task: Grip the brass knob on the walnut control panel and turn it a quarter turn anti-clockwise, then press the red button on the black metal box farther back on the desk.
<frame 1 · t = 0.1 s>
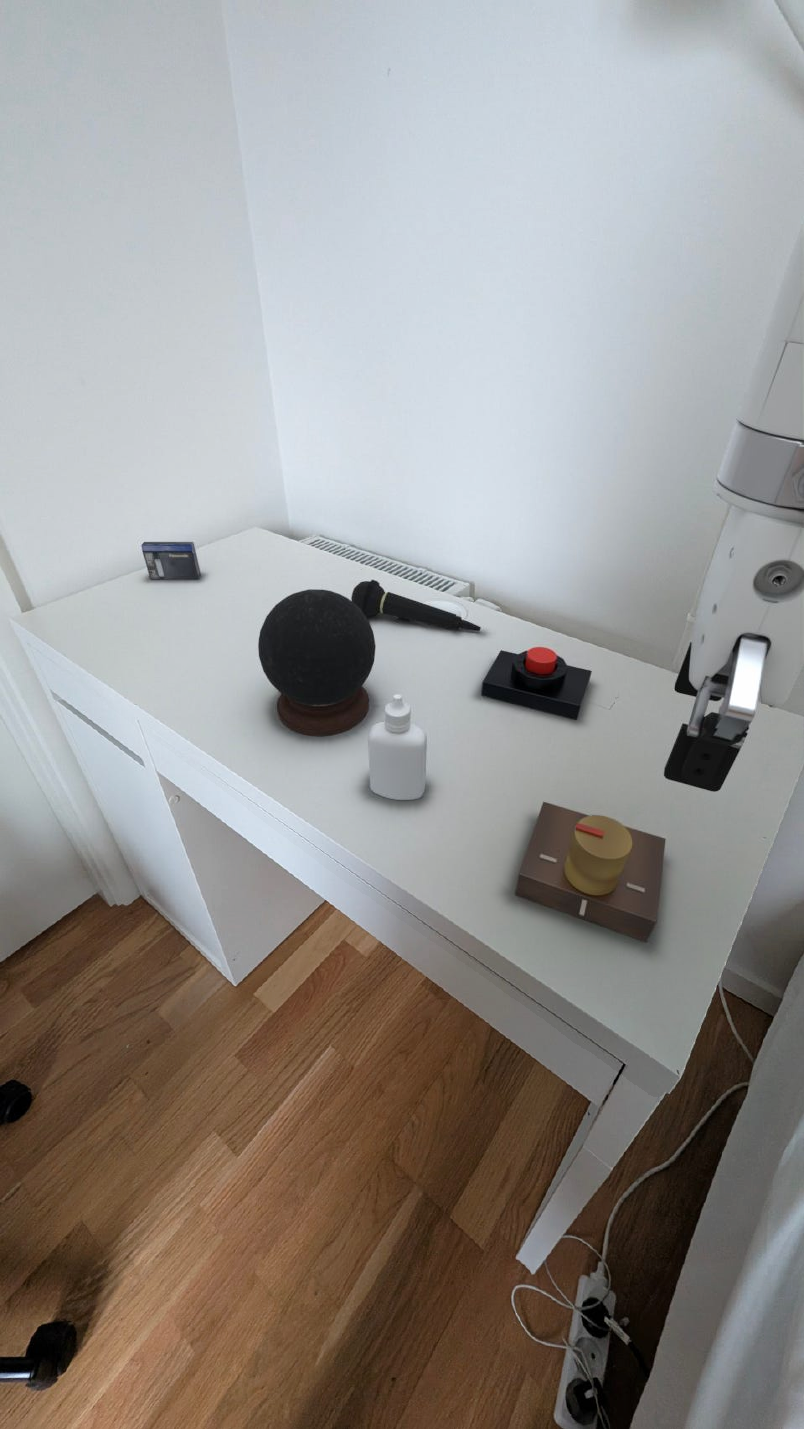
hand: (693, 734, 39), 18 cm above the table, tool pointing down, fingers open, 9 cm apart
knob: (597, 853, 47), point 6 cm above the table, hinge at 0.0°
button: (540, 660, 71), point 4 cm above the table, slide at 0.1 cm
microphone: (411, 625, 87), on the table
panel: (587, 876, 52), on the table
button box: (535, 690, 74), on the table
black ball on stand: (323, 707, 71), on the table
eye dropper bottle: (397, 789, 60), on the table
mini dv tape: (176, 578, 99), on the table
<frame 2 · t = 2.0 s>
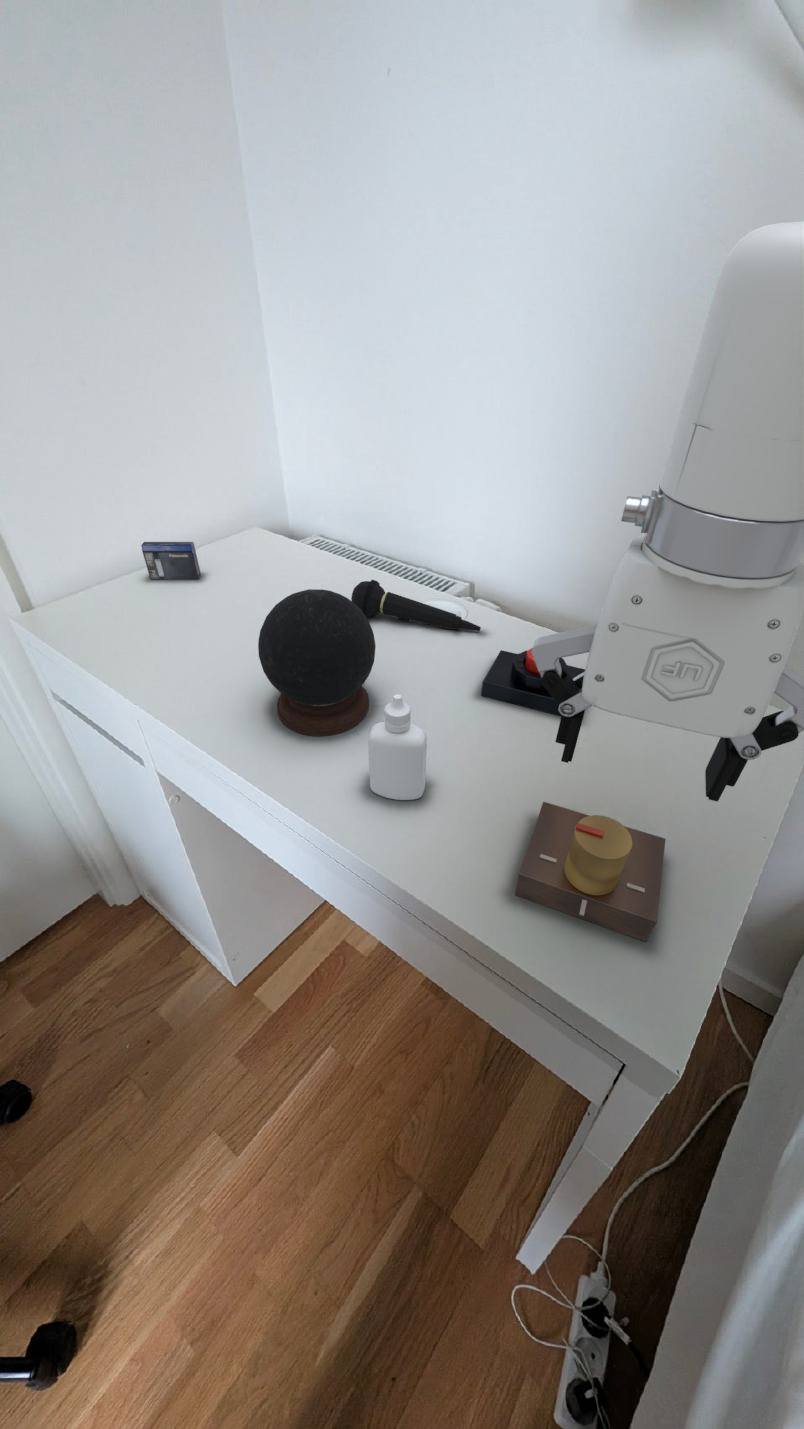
hand: (637, 767, 41), 15 cm above the table, tool pointing down, fingers open, 9 cm apart
nothing on the table moved.
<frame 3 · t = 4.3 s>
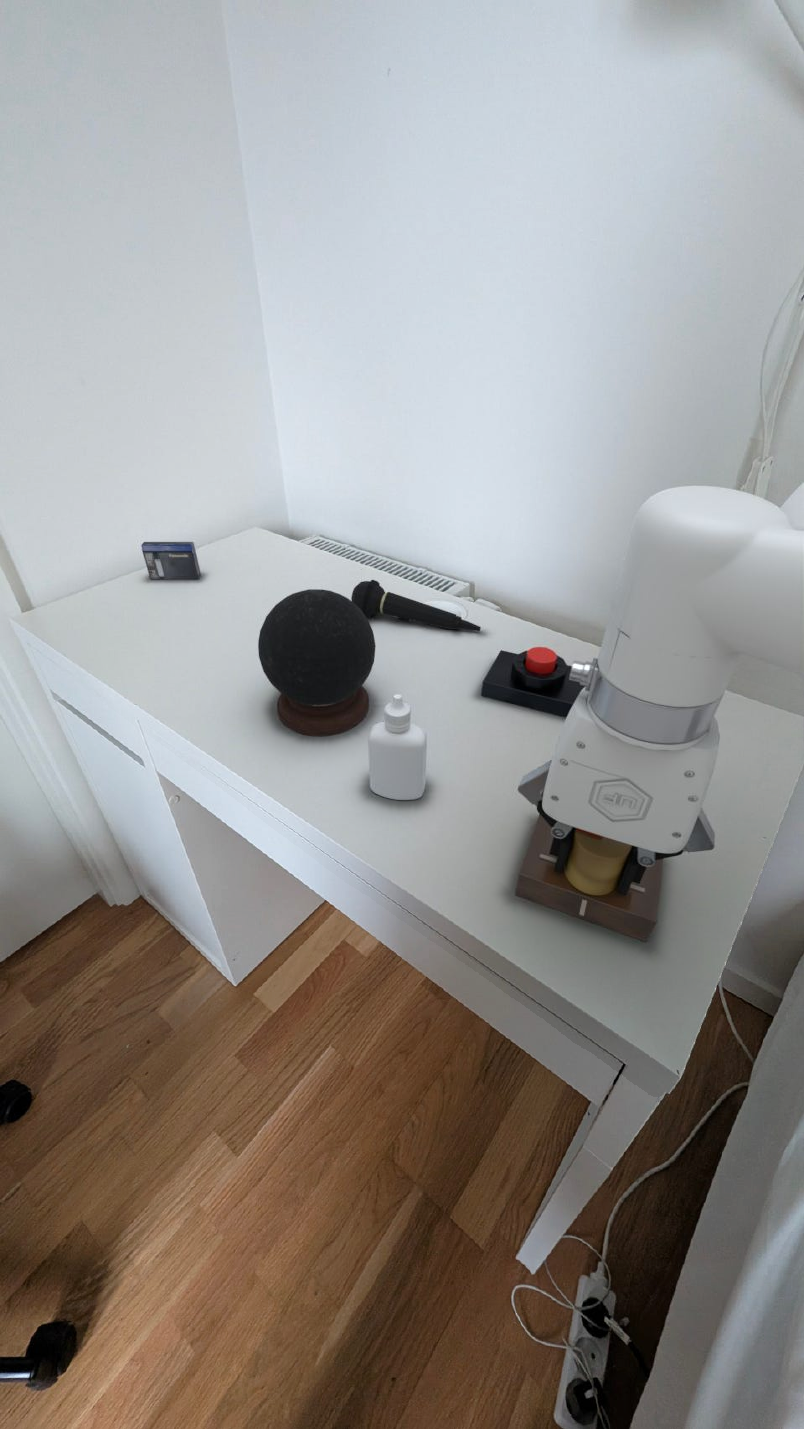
hand: (592, 868, 48), 4 cm above the table, tool pointing down, fingers closed on knob, 4 cm apart
knob: (597, 853, 47), point 6 cm above the table, hinge at 0.0°, touching gripper
everything else where it was.
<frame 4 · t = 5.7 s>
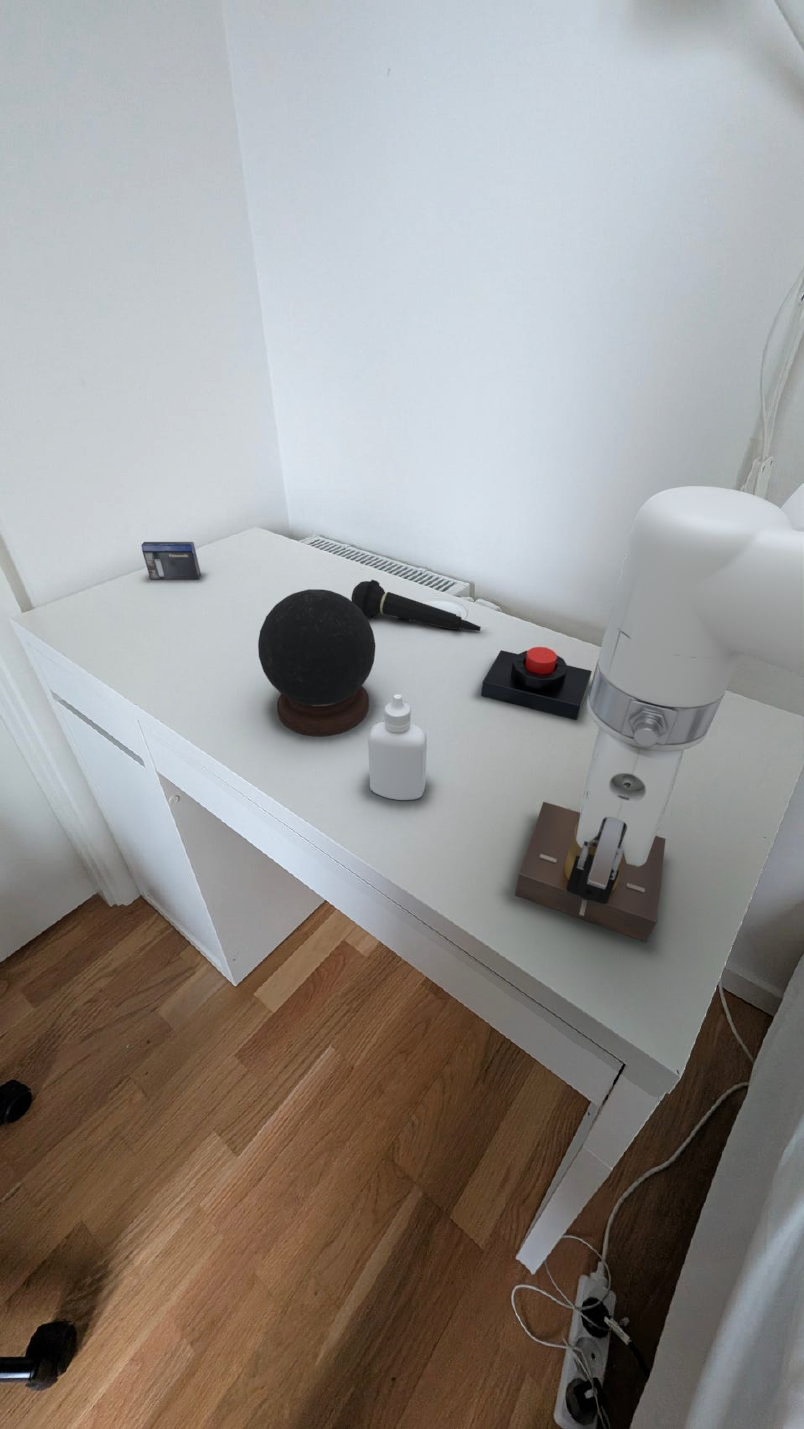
hand: (592, 868, 48), 4 cm above the table, tool pointing down, fingers closed on knob, 4 cm apart
knob: (597, 853, 47), point 6 cm above the table, hinge at 90.6°, touching gripper
everything else where it was.
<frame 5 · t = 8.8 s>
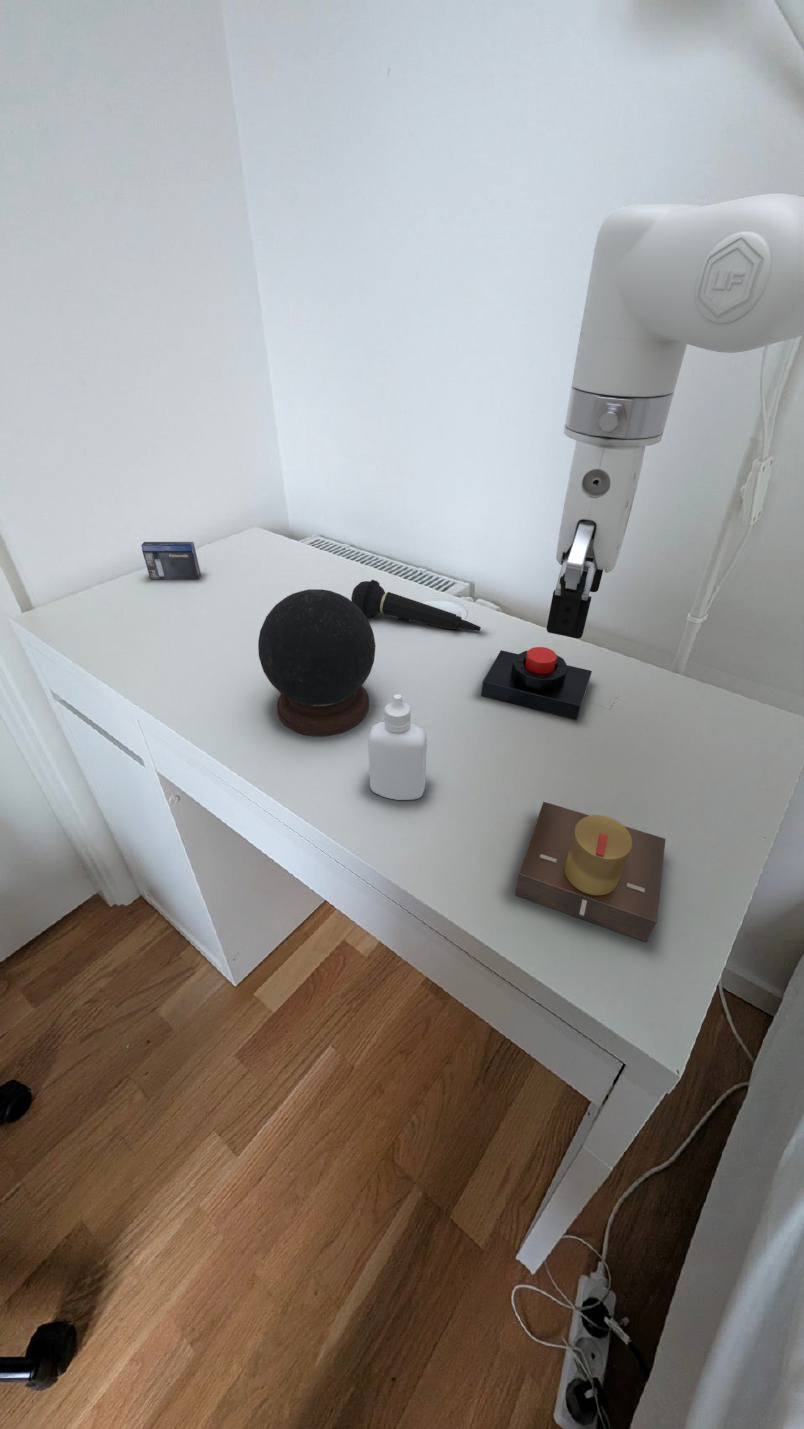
hand: (573, 610, 56), 17 cm above the table, tool pointing down, fingers open, 9 cm apart
knob: (597, 853, 47), point 6 cm above the table, hinge at 90.5°
everything else where it was.
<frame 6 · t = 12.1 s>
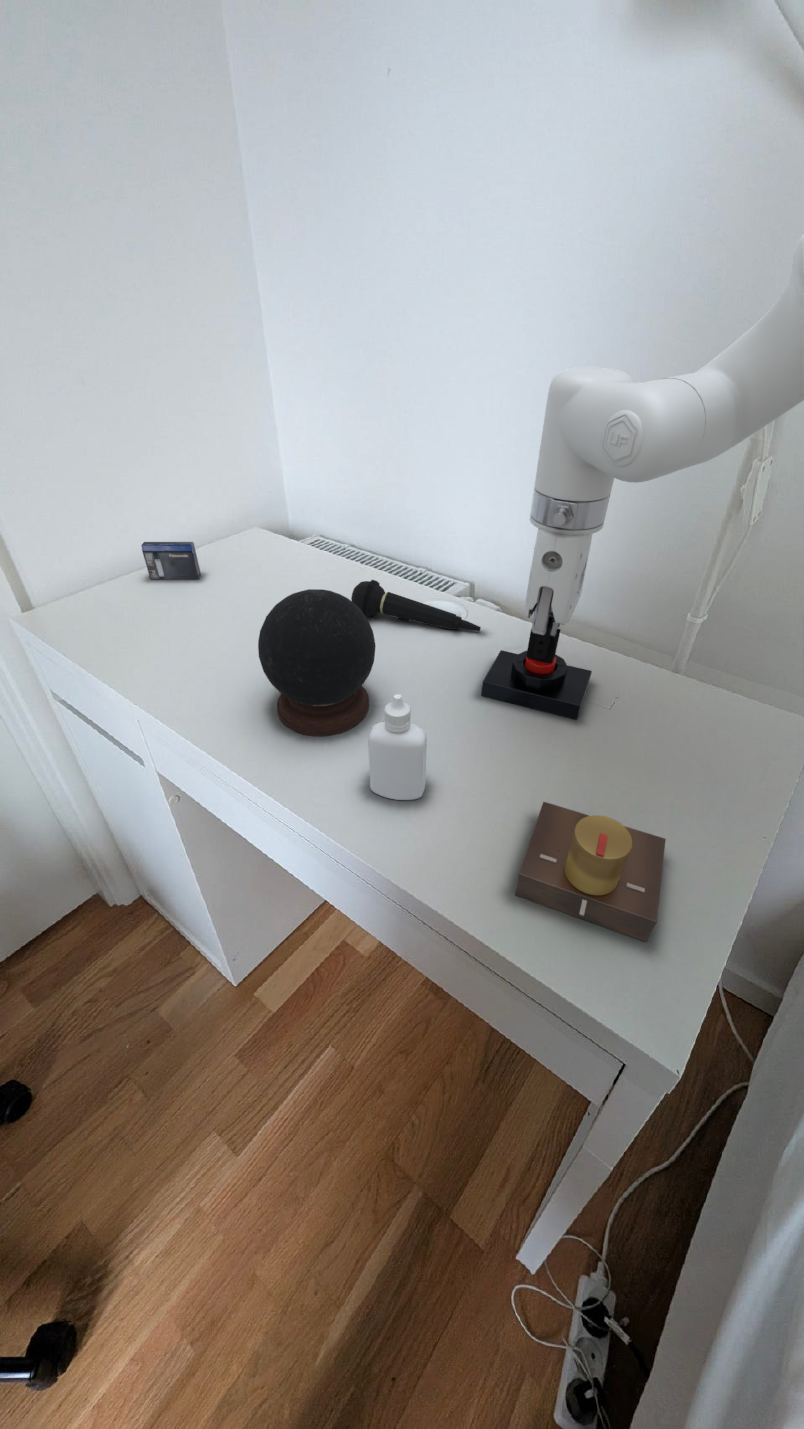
hand: (540, 657, 71), 5 cm above the table, tool pointing down, fingers closed
button: (540, 664, 71), point 4 cm above the table, slide at -0.4 cm, touching gripper
everything else where it was.
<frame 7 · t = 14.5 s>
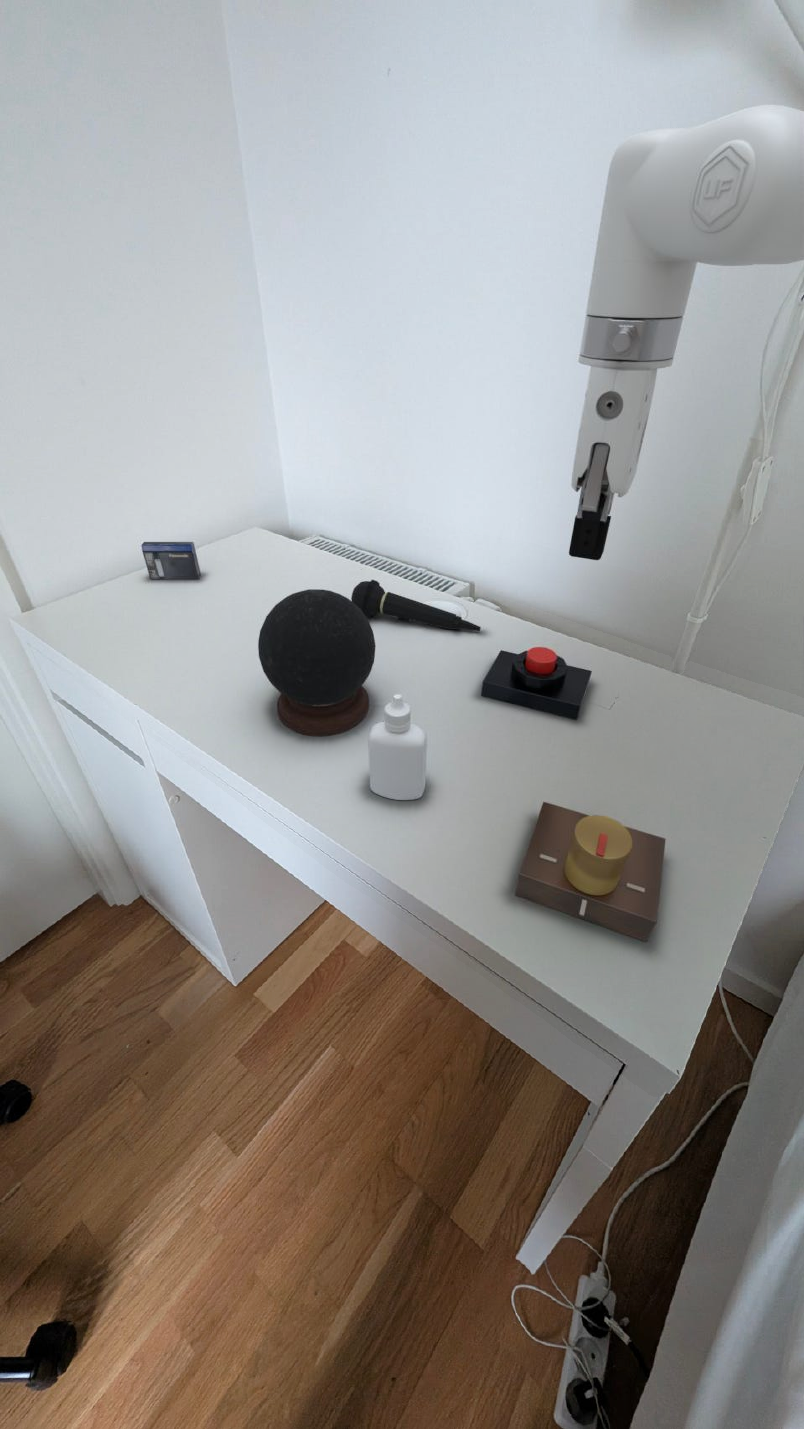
hand: (585, 555, 59), 20 cm above the table, tool pointing down, fingers closed
button: (540, 660, 71), point 4 cm above the table, slide at 0.1 cm
everything else where it was.
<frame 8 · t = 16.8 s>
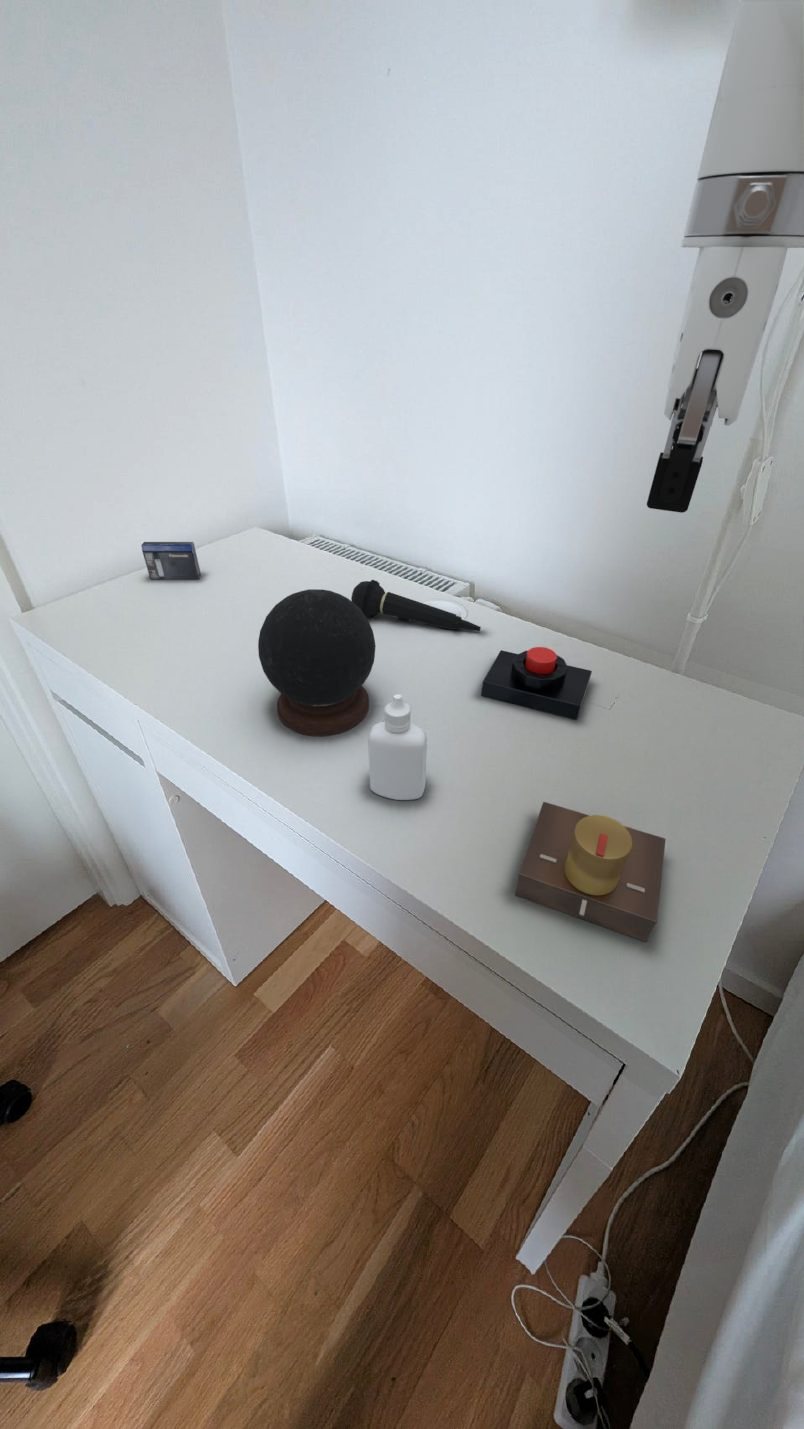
hand: (666, 507, 48), 27 cm above the table, tool pointing down, fingers closed
nothing on the table moved.
at the end: knob at +90° (first picture: +0°); button pushed in 1.1 cm at the most during the clip, back to where it started at the end; button slide at 0.1 cm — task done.
